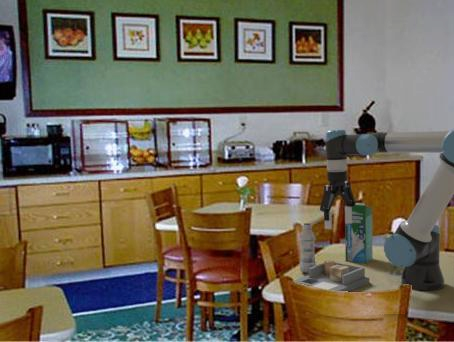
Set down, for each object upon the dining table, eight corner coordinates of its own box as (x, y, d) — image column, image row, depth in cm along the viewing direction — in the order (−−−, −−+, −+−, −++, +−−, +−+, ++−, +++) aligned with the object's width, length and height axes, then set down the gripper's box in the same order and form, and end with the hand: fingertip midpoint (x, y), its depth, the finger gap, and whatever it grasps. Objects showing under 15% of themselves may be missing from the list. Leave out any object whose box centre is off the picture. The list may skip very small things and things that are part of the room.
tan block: (337, 274, 225) (337, 261, 225) (331, 276, 222) (331, 263, 222) (328, 272, 228) (328, 259, 227) (322, 274, 225) (322, 262, 225)
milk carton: (372, 258, 254) (372, 202, 252) (365, 263, 247) (365, 205, 244) (352, 256, 259) (352, 200, 256) (345, 261, 251) (344, 203, 249)
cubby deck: (369, 282, 219) (369, 268, 219) (336, 297, 204) (335, 282, 203) (325, 273, 233) (325, 260, 233) (291, 286, 218) (290, 272, 217)
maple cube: (348, 279, 217) (348, 266, 217) (341, 282, 214) (341, 269, 213) (337, 277, 221) (337, 264, 220) (329, 280, 217) (329, 267, 217)
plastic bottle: (312, 276, 231) (311, 226, 229) (297, 273, 234) (296, 225, 232) (319, 271, 236) (318, 223, 234) (303, 269, 240) (302, 222, 238)
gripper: (346, 167, 232) (348, 220, 234) (308, 173, 214) (311, 230, 216) (363, 167, 226) (365, 221, 228) (325, 174, 209) (327, 232, 211)
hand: (338, 226), depth 222 cm, fingers open, 13 cm apart
